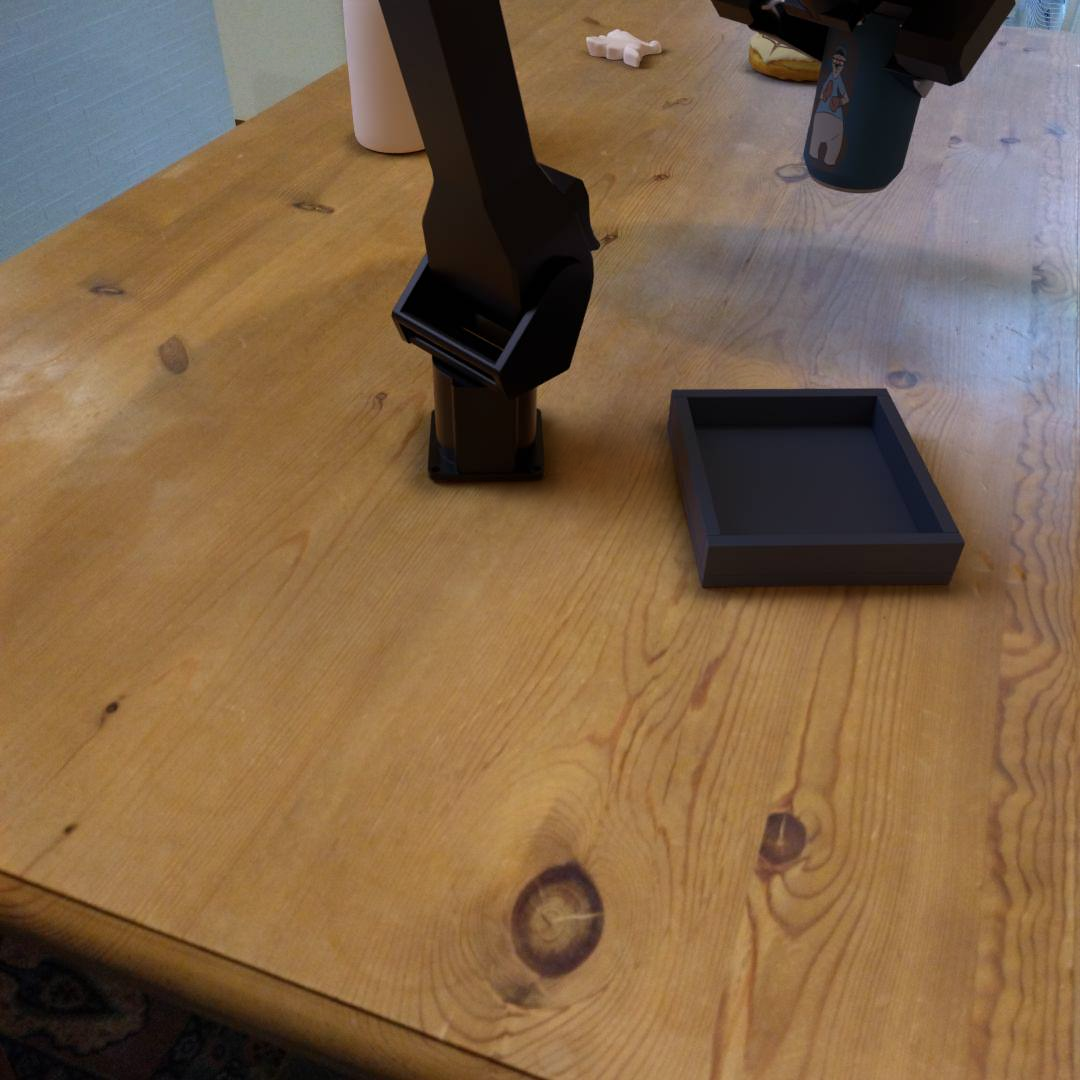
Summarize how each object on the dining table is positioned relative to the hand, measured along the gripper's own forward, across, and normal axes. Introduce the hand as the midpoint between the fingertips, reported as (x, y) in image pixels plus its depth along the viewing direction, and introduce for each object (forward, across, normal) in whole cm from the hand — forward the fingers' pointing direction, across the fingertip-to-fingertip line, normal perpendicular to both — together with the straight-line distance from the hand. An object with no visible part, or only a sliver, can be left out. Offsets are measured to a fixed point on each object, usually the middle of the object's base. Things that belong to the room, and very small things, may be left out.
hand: (882, 77), depth 72 cm
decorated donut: (+31, +29, -14) cm, 45 cm away
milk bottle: (+1, +40, +18) cm, 44 cm away
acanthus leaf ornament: (+24, +44, -6) cm, 51 cm away
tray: (-9, -16, +28) cm, 34 cm away
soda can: (+4, 0, +6) cm, 7 cm away
